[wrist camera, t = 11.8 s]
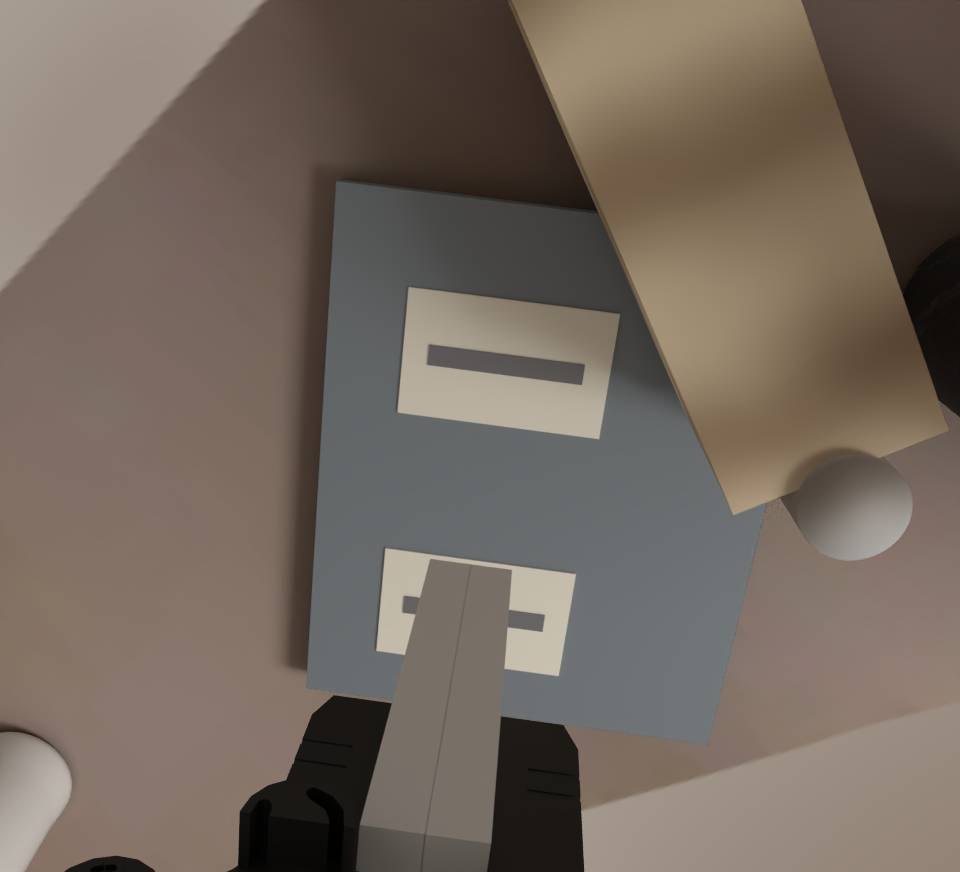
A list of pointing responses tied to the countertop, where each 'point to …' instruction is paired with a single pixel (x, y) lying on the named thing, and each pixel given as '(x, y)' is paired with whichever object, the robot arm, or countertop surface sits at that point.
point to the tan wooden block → (747, 249)
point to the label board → (516, 465)
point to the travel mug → (939, 319)
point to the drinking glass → (28, 796)
